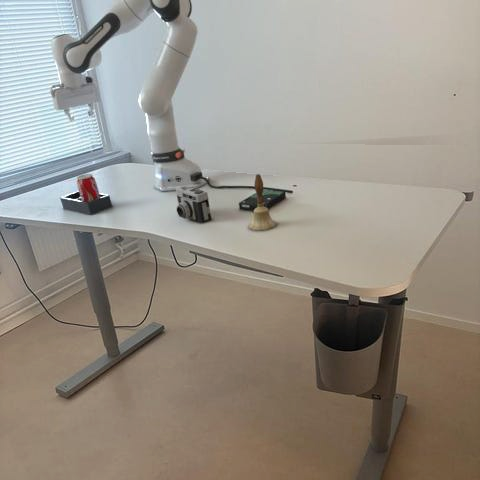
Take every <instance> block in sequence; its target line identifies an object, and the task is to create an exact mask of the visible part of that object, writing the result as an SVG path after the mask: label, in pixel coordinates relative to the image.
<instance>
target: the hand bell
mask: <svg viewBox="0 0 480 480" xmlns="http://www.w3.org/2000/svg"><path fill="white" fill-rule="evenodd" d="M254 186H255V193H257V198H258V207H257V208H256V209H255V210H254V211H253V218H252V221H251V223H250V224H249V229H250V230H253V231H257V232H258V231H268V230H270V229H271V230H272V229H273V228H275V227H276V225H277V223H276V221H274V220H273V219H272V216H271V215H270V211H269V209H268V208H266V207H264V206H263V197H262V194H263V190H264V189H263V187H264V181H263V178H262V176H261V174H260V173H258V174H255V179H254Z"/></svg>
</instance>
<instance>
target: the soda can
mask: <svg viewBox="0 0 480 480" xmlns="http://www.w3.org/2000/svg"><path fill="white" fill-rule="evenodd" d="M76 179H77V180H76V185H77V189H78V191H79V193H80V196H81V199H82V201H83V202H90V201H93V200H96V199H98V198H100V194H99V193H100V191H99V187H98V184H97V181H96V178H95V177H94V176H93V174H91V173H86V174H82V175H79V176H77V177H76Z"/></svg>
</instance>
